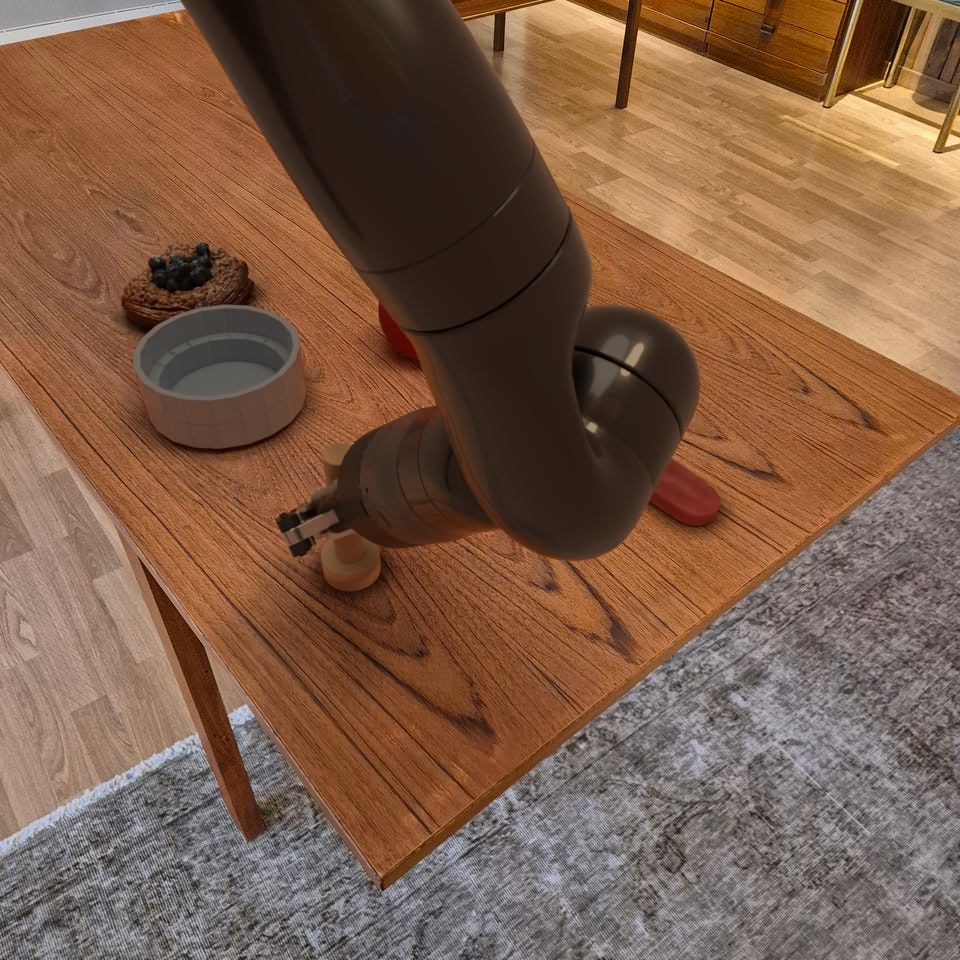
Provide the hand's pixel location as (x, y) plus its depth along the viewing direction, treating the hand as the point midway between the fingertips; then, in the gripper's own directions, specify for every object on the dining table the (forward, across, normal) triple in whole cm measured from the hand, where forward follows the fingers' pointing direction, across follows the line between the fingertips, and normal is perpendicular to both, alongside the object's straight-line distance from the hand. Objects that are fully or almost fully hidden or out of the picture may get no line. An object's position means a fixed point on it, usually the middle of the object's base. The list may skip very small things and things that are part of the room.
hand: (331, 506), depth 65 cm
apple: (+17, -22, -9) cm, 29 cm away
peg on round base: (+2, 0, +5) cm, 6 cm away
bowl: (+19, -2, -12) cm, 23 cm away
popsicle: (-2, -26, +10) cm, 27 cm away
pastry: (+31, -6, -23) cm, 40 cm away
